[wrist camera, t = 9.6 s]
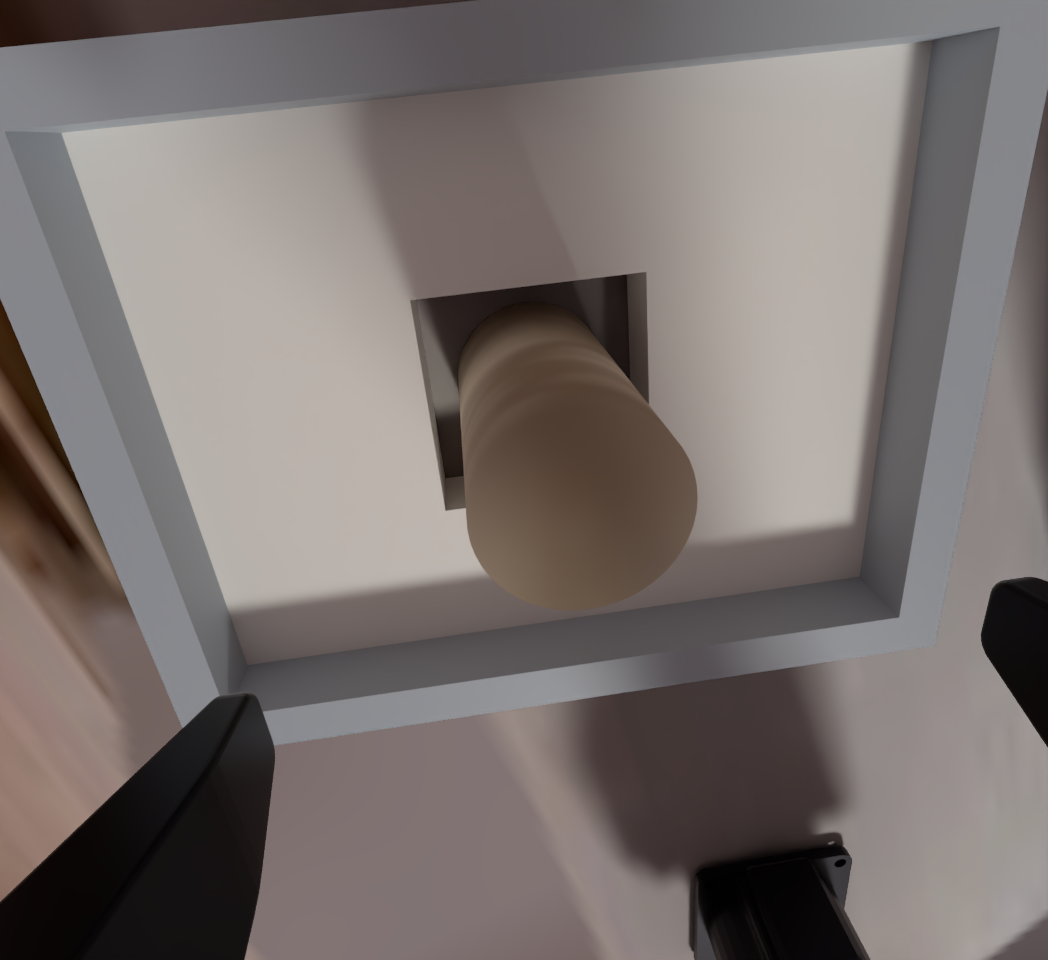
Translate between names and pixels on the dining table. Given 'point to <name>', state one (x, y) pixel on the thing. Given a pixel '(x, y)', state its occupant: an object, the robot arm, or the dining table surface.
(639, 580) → the peg
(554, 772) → the dining table surface
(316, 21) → the grey square-hole tray
